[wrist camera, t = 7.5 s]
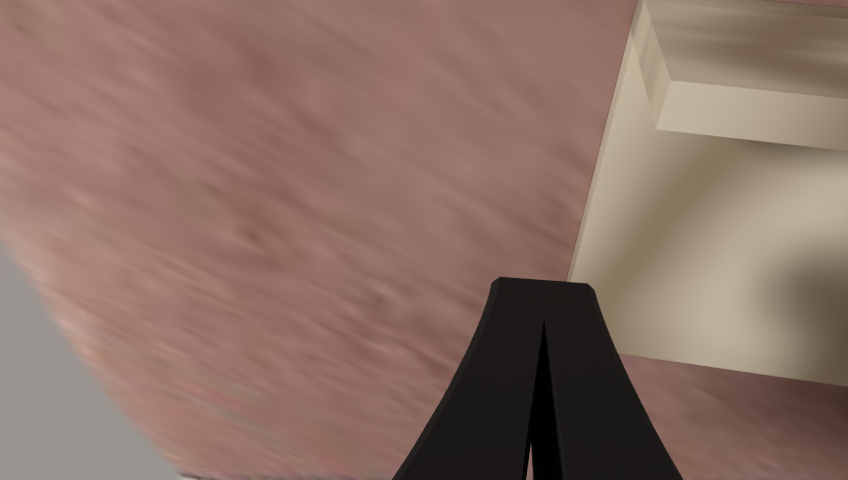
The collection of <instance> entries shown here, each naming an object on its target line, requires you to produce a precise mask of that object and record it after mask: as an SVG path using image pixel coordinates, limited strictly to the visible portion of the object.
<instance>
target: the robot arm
mask: <svg viewBox="0 0 848 480" xmlns="http://www.w3.org/2000/svg"><path fill="white" fill-rule="evenodd" d="M530 446H531V447H532V465H533V480H683V478H682V477H681V475H680V473H679V471H678V470H677V468H676V466H675V465H674V463H673V461H672V459H671V458H670V456H669V454H668V452H667V451H666V449H665V447H664V445H663V443H662V442H661V440H660V438H659V436H658V434H657V432H656V430H655V429H654V427H653V425H652V423H651V421H650V419H649V417H648V415H647V413H646V411H645V409H644V407H643V405H642V403H641V401H640V399H639V397H638V395H637V393H636V391H635V389H634V387H633V385H632V383H631V381H630V379H629V377H628V375H627V373H626V370H625V368H624V366H623V364H622V362H621V359H620V357H619V355H618V352H617V350H616V348H615V345H614V343H613V341H612V338H611V336H610V333H609V331H608V328H607V326H606V323H605V320H604V318H603V315H602V312H601V309H600V306H599V303H598V300H597V297H596V293H595V290H594V289H593V288H592V287H591V286H590V285H589V284H588V283H577V282H563V281H549V280H535V279H521V278H507V277H499V278H498V279H496V280H495V281H493V282H492V284H491V288H490V293H489V296H488V300H487V303H486V306H485V309H484V311H483V314H482V317H481V319H480V322H479V324H478V327H477V329H476V331H475V334H474V336H473V338H472V340H471V343H470V345H469V347H468V349H467V351H466V353H465V355H464V357H463V359H462V361H461V363H460V365H459V367H458V369H457V371H456V373H455V375H454V377H453V379H452V381H451V383H450V385H449V387H448V389H447V391H446V392H445V394H444V396H443V398H442V400H441V401H440V403H439V405H438V407H437V408H436V410H435V412H434V413H433V415H432V417H431V418H430V420H429V422H428V423H427V425H426V427H425V428H424V430H423V432H422V433H421V435H420V437H419V438H418V440H417V442H416V443H415V445H414V447H413V448H412V450H411V451H410V453H409V455H408V456H407V458H406V459H405V461H404V462H403V464H402V465H401V467H400V468H399V470H398V471H397V473H396V474H395V476H394V477H393V479H392V480H526V476H527V469H528V461H529V453H530Z"/></svg>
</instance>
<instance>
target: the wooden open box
mask: <svg viewBox="0 0 848 480" xmlns="http://www.w3.org/2000/svg"><path fill="white" fill-rule="evenodd" d="M567 282H577V283H588V284H589V285H590V286H591V287H592V288H593V289H594V290H595V293H596V297H597V300H598V303H599V306H600V309H601V312H602V315H603V318H604V320H605V323H606V326H607V328H608V331H609V333H610V336H611V338H612V341H613V343H614V345H615V348H616V350H617V352H618V353H619V354H626V355H633V356H640V357H647V358H654V359H661V360H668V361H674V362H681V363H688V364H695V365H702V366H709V367H716V368H722V369H729V370H736V371H743V372H750V373H757V374H764V375H770V376H777V377H784V378H791V379H798V380H805V381H812V382H818V383H825V384H832V385H839V386H846V387H848V8H839V7H828V6H817V5H807V4H796V3H785V2H774V1H764V0H638V1H637V5H636V9H635V13H634V17H633V21H632V24H631V28H630V32H629V36H628V40H627V44H626V48H625V52H624V56H623V60H622V64H621V68H620V72H619V76H618V80H617V84H616V88H615V92H614V96H613V100H612V104H611V108H610V112H609V115H608V119H607V123H606V127H605V131H604V135H603V139H602V143H601V147H600V151H599V155H598V159H597V163H596V167H595V171H594V175H593V179H592V183H591V187H590V191H589V195H588V199H587V203H586V207H585V210H584V214H583V218H582V222H581V226H580V230H579V234H578V238H577V242H576V246H575V250H574V254H573V258H572V262H571V266H570V270H569V274H568V278H567Z"/></svg>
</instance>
